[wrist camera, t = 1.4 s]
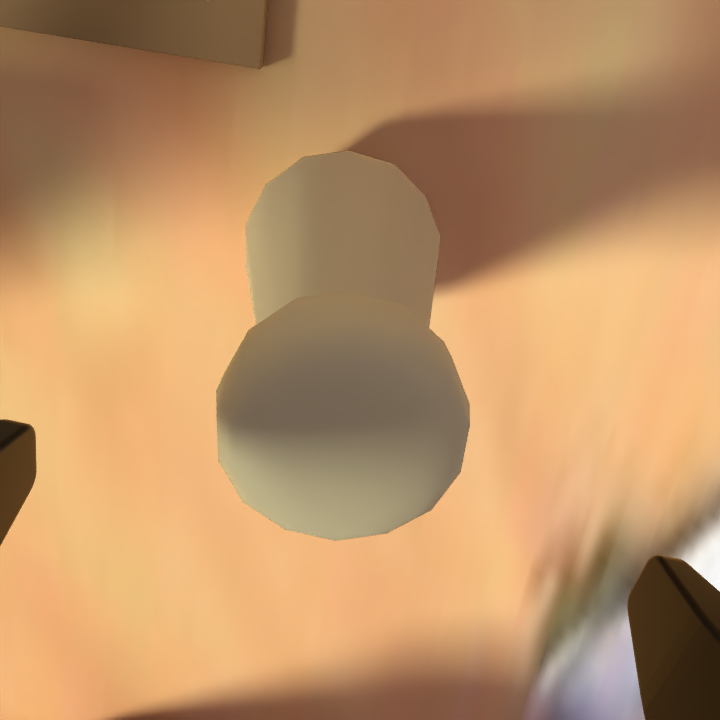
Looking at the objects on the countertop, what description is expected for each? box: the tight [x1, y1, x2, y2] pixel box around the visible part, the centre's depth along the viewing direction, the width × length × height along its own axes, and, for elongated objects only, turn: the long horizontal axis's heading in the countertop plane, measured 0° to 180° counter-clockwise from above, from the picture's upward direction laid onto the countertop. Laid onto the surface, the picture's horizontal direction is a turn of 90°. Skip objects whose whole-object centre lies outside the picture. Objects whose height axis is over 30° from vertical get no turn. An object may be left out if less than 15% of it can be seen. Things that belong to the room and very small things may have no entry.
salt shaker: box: [216, 151, 470, 541], centre depth 16 cm, size 6×6×13 cm
